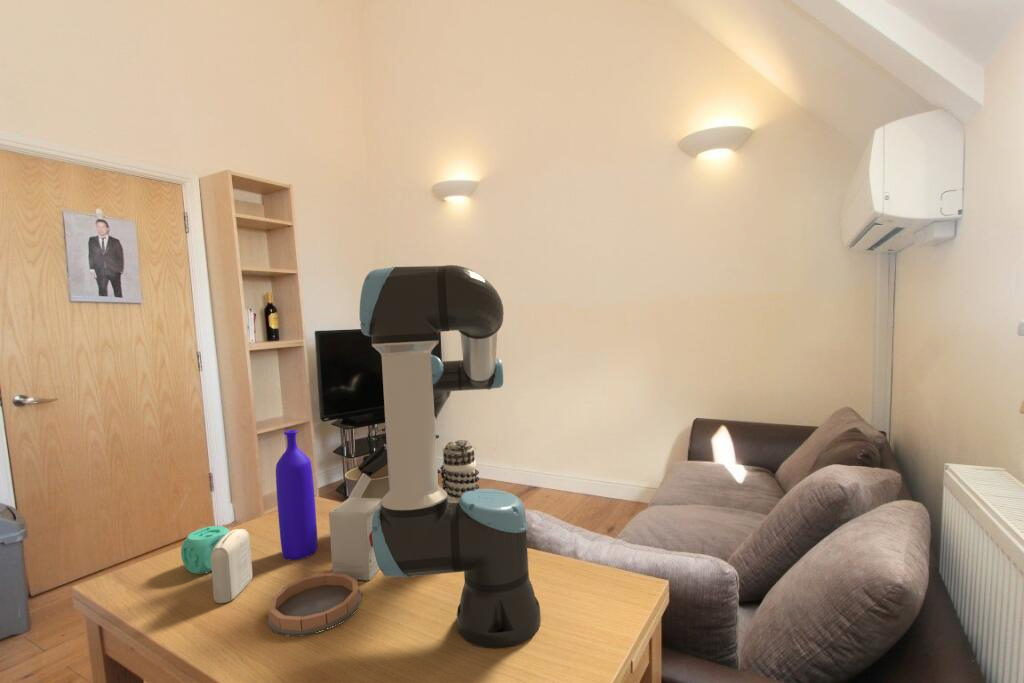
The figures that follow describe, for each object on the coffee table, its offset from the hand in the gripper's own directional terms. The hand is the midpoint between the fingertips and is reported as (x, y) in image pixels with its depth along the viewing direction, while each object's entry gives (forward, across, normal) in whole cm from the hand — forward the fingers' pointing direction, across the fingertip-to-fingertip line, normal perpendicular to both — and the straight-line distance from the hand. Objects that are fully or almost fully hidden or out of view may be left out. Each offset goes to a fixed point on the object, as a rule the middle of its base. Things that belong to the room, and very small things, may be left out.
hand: (371, 506), depth 117 cm
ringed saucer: (+22, -6, +4) cm, 24 cm away
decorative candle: (-3, -13, -21) cm, 25 cm away
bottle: (+14, +19, -4) cm, 24 cm away
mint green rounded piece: (+25, +32, +6) cm, 41 cm away
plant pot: (+1, +13, -17) cm, 22 cm away
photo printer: (+26, +16, +8) cm, 32 cm away
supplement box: (+12, -1, -6) cm, 14 cm away
